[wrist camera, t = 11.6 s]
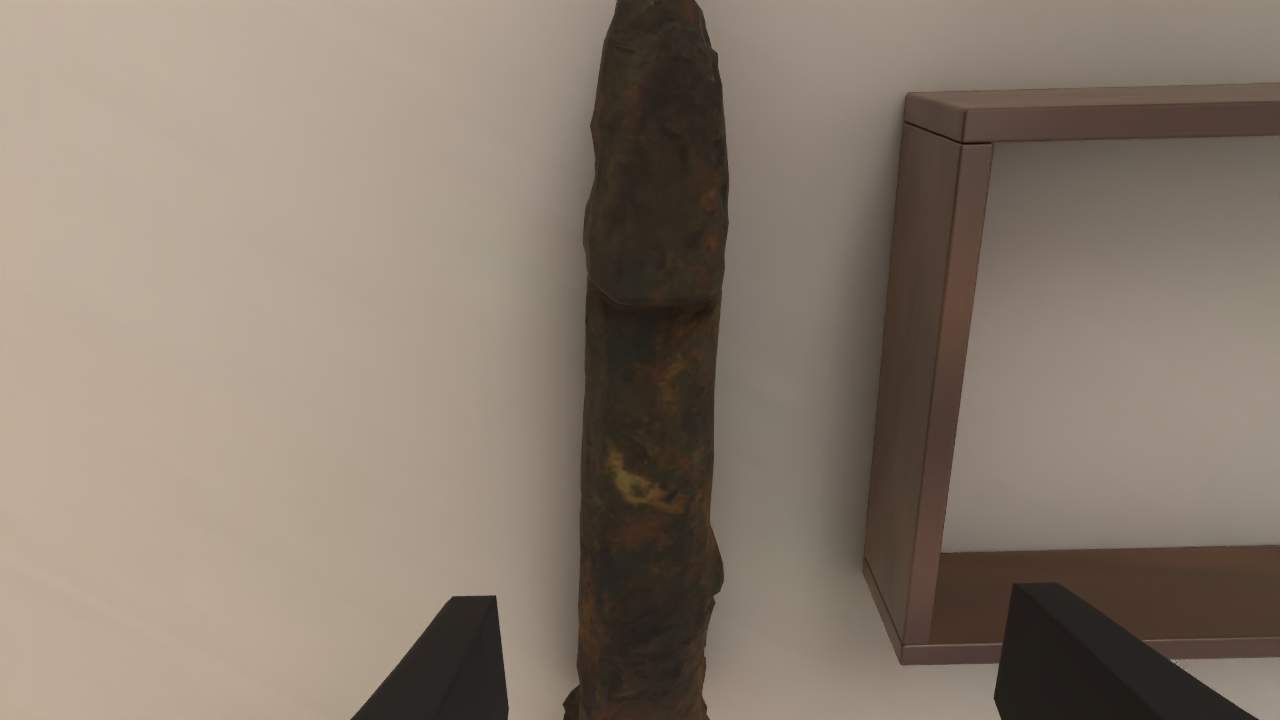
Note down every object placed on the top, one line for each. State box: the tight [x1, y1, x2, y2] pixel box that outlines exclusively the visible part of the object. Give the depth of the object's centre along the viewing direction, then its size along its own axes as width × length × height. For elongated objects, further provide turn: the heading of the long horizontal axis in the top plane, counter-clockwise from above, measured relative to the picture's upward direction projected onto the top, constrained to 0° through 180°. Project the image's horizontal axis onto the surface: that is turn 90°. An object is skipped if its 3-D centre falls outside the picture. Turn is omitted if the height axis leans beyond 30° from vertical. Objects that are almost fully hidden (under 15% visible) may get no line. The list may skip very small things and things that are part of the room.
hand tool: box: [563, 0, 729, 720], centre depth 18 cm, size 19×4×5 cm, turn 176°
